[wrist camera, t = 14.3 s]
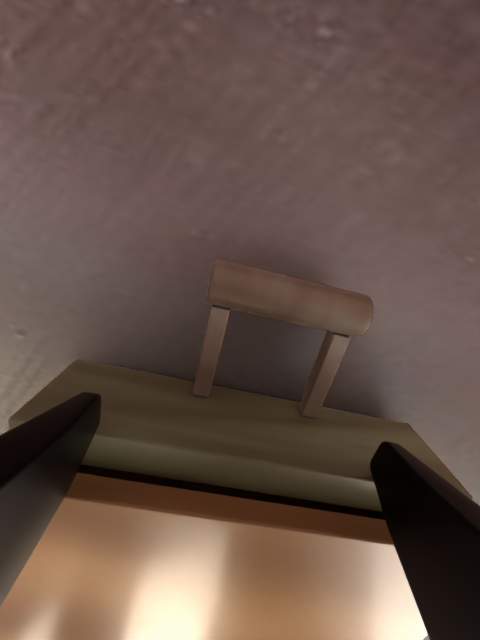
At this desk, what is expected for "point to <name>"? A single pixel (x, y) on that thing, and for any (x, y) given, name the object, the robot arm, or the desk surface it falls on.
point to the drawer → (243, 411)
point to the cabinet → (206, 571)
